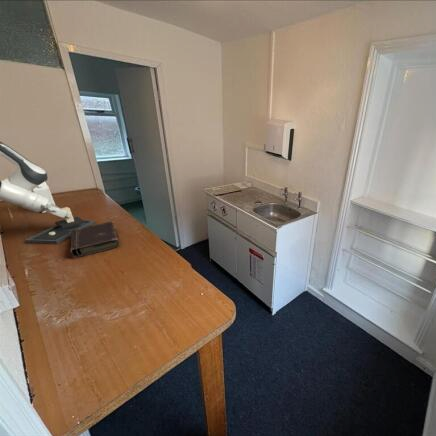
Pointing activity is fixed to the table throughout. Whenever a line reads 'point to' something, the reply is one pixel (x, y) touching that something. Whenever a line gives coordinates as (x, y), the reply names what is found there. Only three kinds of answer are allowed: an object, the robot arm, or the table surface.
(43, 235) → the pad
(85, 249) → the diary
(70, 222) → the loose pad
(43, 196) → the robot arm
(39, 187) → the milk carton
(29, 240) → the grey shallow rectangular tray
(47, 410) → the table surface
